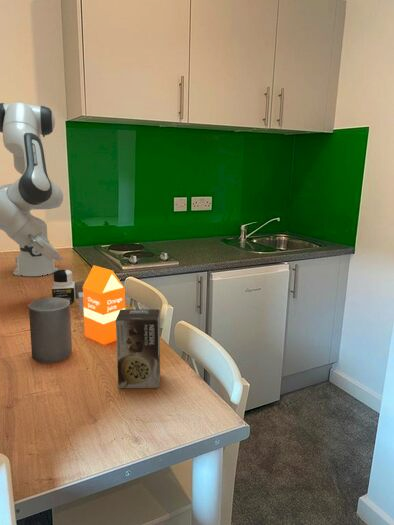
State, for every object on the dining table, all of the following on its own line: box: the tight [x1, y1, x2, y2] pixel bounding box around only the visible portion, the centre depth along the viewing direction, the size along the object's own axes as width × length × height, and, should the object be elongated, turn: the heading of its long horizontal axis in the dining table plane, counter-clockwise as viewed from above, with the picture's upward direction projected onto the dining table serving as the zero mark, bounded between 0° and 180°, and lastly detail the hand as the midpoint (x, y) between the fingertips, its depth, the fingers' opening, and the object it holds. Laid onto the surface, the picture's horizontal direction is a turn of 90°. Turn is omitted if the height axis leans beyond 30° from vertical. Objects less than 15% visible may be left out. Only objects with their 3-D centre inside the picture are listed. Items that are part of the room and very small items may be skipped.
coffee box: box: [115, 308, 161, 389], centre depth 86 cm, size 9×6×16 cm
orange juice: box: [82, 265, 126, 346], centre depth 109 cm, size 8×9×20 cm
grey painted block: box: [78, 292, 84, 312], centre depth 132 cm, size 5×5×5 cm
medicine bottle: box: [51, 269, 76, 308], centre depth 134 cm, size 7×7×12 cm
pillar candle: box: [28, 296, 73, 364], centre depth 98 cm, size 10×10×15 cm
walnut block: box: [74, 280, 86, 300], centre depth 144 cm, size 5×5×5 cm
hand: (60, 260), depth 132 cm, fingers closed
